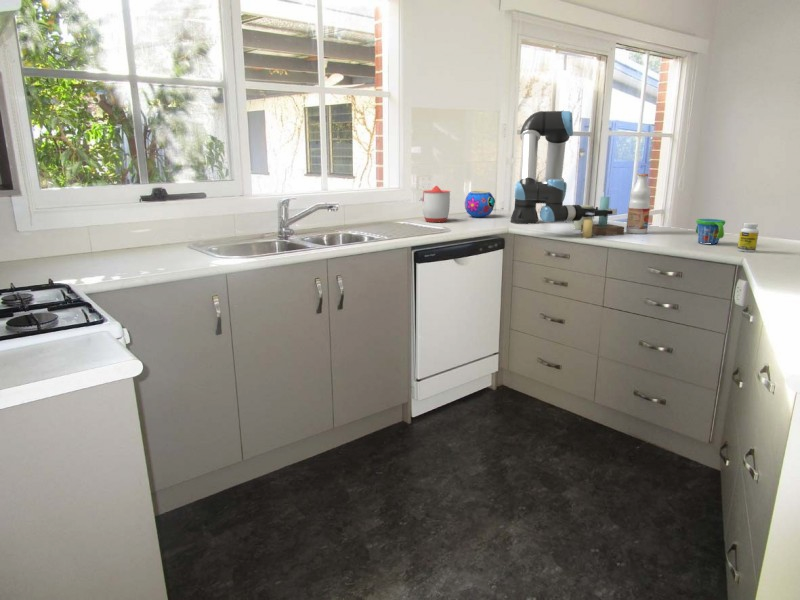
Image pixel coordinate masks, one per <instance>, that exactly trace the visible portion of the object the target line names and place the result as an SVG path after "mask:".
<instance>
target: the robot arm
mask: <svg viewBox="0 0 800 600" xmlns="http://www.w3.org/2000/svg"><path fill="white" fill-rule="evenodd" d="M573 124H574V123H573V113H572V112H571V111H570V110H552V111H551V110H550V111H549V110H547V111H545V110H544V111H543V110H540V111H537V112H534V113H532V114H531V115H530V116H529V117H527V119H525V121H524V123H523V125H522V127H521V128H520V134H519V138H520V141H521V154H520V155H521V157H520V170H519V181H517V182H516V183H515V186H514V209H513V212H512V214H511V216H510V223H512V222H515V223H514V224H519V223H526V224H527V225H529V224H528V223H534V224H538V223H539V220H541V221H542V222H543V223H558V222H559V223H561V222H564V223H567V222H574V221H579V220H581V218H582V217H599V216H604V217H606V216H608V217H609V216H617V215H618V208H611V207H609V209H605V210H600V207H597V206H596V207H594V208H589V209H587V208H582V207H581V206H580V205H581V204H563V203H564V200H565V197H566V193H567V186H568V183H567V182H566V181H565V179H564V178H563V170H564V160H565V153H566V151H565V150H566V144H567V141H569V139H570V137H572V136H574V128H573V126H574V125H573ZM541 137H545V140H546V141H547V150H546V151H547V153H546V162H545V163H546V164H545V174H544V175H545V176H544V177H543V178H542V180H541V181H538V178H537V167H538V165H537V163H538V150H539V149H538V147H539V146H538V145H539V140H540V139H541ZM537 204H545V205H543V206H541V207H540V211H539V215H538V212H537V211H538V210H537ZM539 218H540V219H539ZM526 224H525V225H526Z"/></svg>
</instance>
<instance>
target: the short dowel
mask: <svg viewBox="0 0 800 600" xmlns="http://www.w3.org/2000/svg"><path fill="white" fill-rule="evenodd" d="M593 222H594V221H593V219H592V220H590V219H585V220H584V223H583V232H582V234H581V235H582V236H581V237H582V238H584V239H591V238H592V236H593V234H592V225H593V224H594V223H593Z"/></svg>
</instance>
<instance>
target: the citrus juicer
mask: <svg viewBox="0 0 800 600" xmlns="http://www.w3.org/2000/svg"><path fill="white" fill-rule="evenodd" d="M422 194H423V196H421V197H420V198H419V201H420V202H422V212H423V217H424V218H423V219H424V220H425V222H428V223H444V222H447V219H448V217H449V213H450V203H451V202H450V200H451V199H450V196H451V191H450V190H443V189H441V188H440V187H439V186H438V185H435V186H434V187H433V188H432V189H431V190H430V189H429V190H423V193H422Z"/></svg>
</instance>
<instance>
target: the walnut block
mask: <svg viewBox="0 0 800 600" xmlns="http://www.w3.org/2000/svg"><path fill="white" fill-rule="evenodd" d="M580 232H581V233H583V225H581V229H580ZM624 233H625V226H621V225H616V224H610V223H607V227H600V226H598V223H593V225H592V235H593V234H594V235H593V236H598V235H603V236H614V235H613V234H620V235H625V234H624Z"/></svg>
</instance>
